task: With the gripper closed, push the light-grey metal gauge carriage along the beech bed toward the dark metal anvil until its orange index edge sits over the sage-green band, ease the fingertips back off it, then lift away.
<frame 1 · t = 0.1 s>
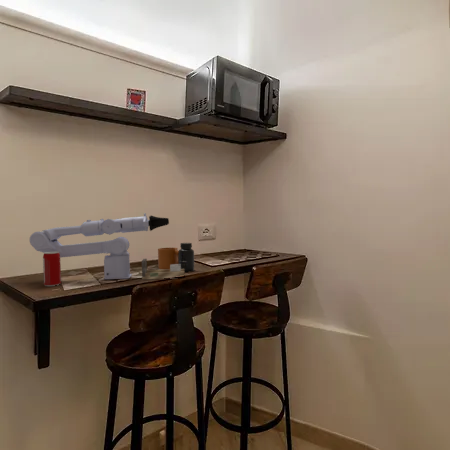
hand: (168, 221, 141), 22 cm above the table, tool horizontal, fingers open, 7 cm apart
mug: (170, 268, 161), on the table
carriage: (175, 269, 139), point 3 cm above the table, slide at 0.0 cm
soda can: (52, 285, 127), on the table
gauge bed: (164, 277, 139), on the table
supplement bottle: (186, 271, 153), on the table
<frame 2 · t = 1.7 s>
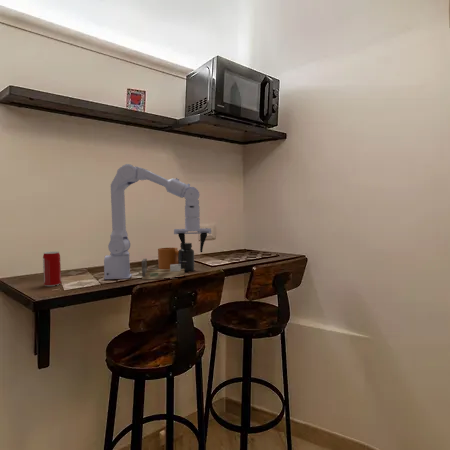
hand: (193, 252, 140), 9 cm above the table, tool pointing down, fingers open, 6 cm apart
nothing on the table moved.
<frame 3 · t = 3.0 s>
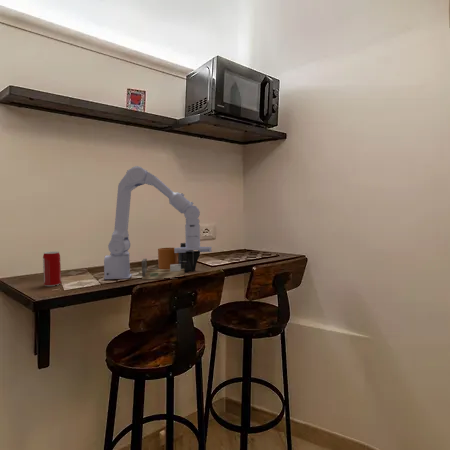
hand: (193, 270, 140), 2 cm above the table, tool pointing down, fingers closed
nothing on the table moved.
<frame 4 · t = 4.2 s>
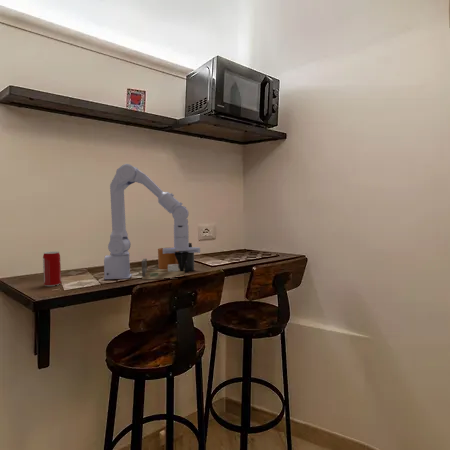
hand: (181, 271, 140), 2 cm above the table, tool pointing down, fingers closed
carriage: (173, 269, 139), point 3 cm above the table, slide at 0.9 cm, touching gripper
everything else where it was.
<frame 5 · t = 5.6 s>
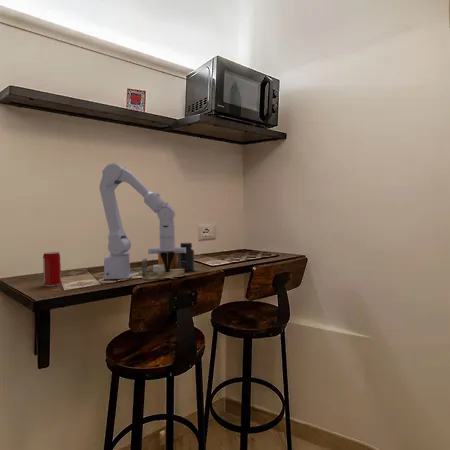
hand: (167, 271, 139), 2 cm above the table, tool pointing down, fingers closed
carriage: (158, 270, 139), point 3 cm above the table, slide at 6.4 cm, touching gripper
everything else where it was.
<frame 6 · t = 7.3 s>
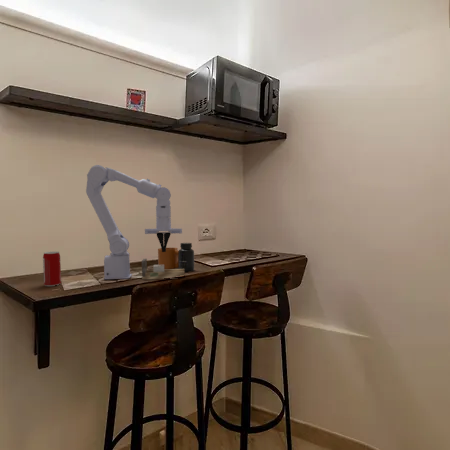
hand: (163, 251, 142), 10 cm above the table, tool pointing down, fingers closed
carriage: (158, 270, 139), point 3 cm above the table, slide at 6.4 cm
everything else where it was.
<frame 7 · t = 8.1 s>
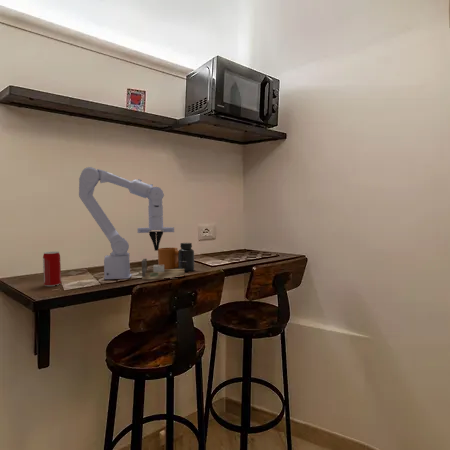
hand: (156, 250, 144), 10 cm above the table, tool pointing down, fingers closed
nothing on the table moved.
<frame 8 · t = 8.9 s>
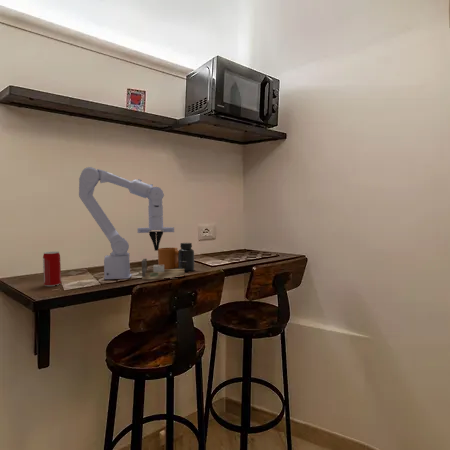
hand: (156, 250, 144), 10 cm above the table, tool pointing down, fingers closed
nothing on the table moved.
at the end: carriage slide at 6.4 cm; carriage touching nothing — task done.
